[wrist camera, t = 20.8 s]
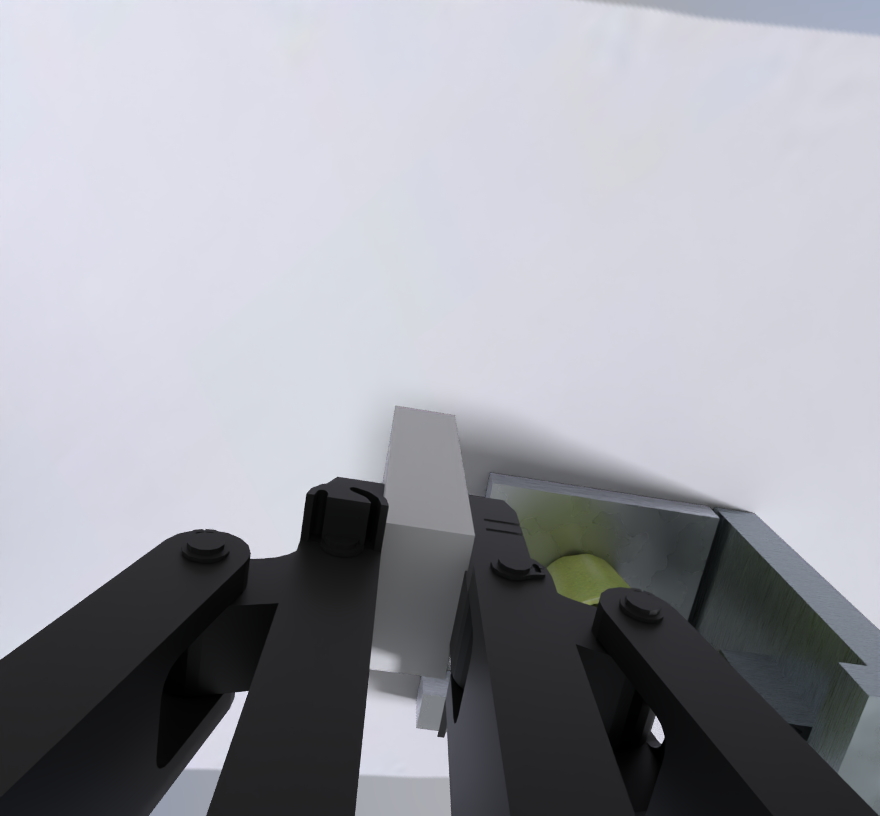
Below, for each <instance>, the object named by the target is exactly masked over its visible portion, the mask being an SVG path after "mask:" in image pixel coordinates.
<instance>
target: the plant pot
mask: <svg viewBox="0 0 880 816" xmlns="http://www.w3.org/2000/svg"><path fill="white" fill-rule="evenodd" d="M547 570H548V571H549V573H550V574H551V576H552V578H553V581H554V584H555V587H556V590H557V592H558V593H559V594H561V595H563V596H565V597H568V598H570V599H573V600H575V601H578V602H582V603H585V604H588V605H591V606H594V607H597V606H598V602H599V599H600V595H601V593H602V592H604V591H605V590H607V589H609V588H617V587H624V588H631V587H630V586H629V585H628V584H627V583H626V582H625V581H624V580H623V578H622V577H621V576H620V575H619V574H618V573H617V572H616V570H615V569H614V568H613V567H612V566H611V565H610V564H609V563H608V562H606V561H605V560H603V559H601V558H600V557H597V556H594V555H591V554H580V555H573V556H564V557H561V558H559V559H557V560H555V561H554V562H552V563H551V564H550V565H549V566H548V567H547Z"/></svg>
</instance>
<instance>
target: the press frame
mask: <svg viewBox="0 0 880 816" xmlns="http://www.w3.org/2000/svg"><path fill="white" fill-rule="evenodd" d="M485 497H486V498H492V499H499V500H504V501H505V502H506V503H507V504H508V505H509V506H510V507H511V508H512V509H513V510H515V511H516V513H517V516H518V519H519V523H520V526H521V529H522V532H523V536H524V539H525V542H526V545H527V548H528V551H529V555H530V558H531V559H534V560H536V561H537V562H539V563H540V564H542V565H543V566H544V567H546V568H547V567H548V566H549V565H550V564H551V563H552V562H554V561H555V560H557V559H559V558H561V557H564V556H573V555H580V554H591V555H594V556H597V557H600V558H601V559H603V560H605V561H606V562H608V563H609V564H610V565H611V566H612V567H613V568H614V569H615V570H616V572H617V573H618V574H619V575H620V576H621V577H622V578H623V580H624V581H625V582H626V583H627V584H628V585H629V586H630V587H631V588H637V589H641V590H642V591H644V590H645V591H647V592H650V593H652V594H654V596H656V597H658V598H660V599H662V600H664V601H666V602H667V603H668V604H670V605H671V606H672V607H673V608H675V609H676V610H677V611H678V612H679V613H680V614H681V615H682V616H683V617H684V618H685V619H686V620H687V621H688V622H689V623H690V624H691V625H692V626H693V627H694V628H695V629H696V630H697V631H698V632H699V633H700V634H701V635H702V636H703V637H704V638H705V639H706V640H707V641H708V642H709V643H710V644H711V646H712V647H713V648H714V649H715V650H716V651H717V652H718V653H719V654H720V655H721V656H722V657H723V658H724V659H725V660H726V661H727V662H728V663H729V664H730V665H731V666H732V667H733V668H734V669H735V670H736V671H737V672H738V673H739V674H740V675H741V676H742V677H743V678H744V679H745V680H746V681H747V682H748V683H749V684H750V685H751V686H752V687H753V688H754V689H755V690H756V691H757V692H758V693H759V694H760V695H761V696H762V697H763V698H764V699H765V700H766V701H767V702H768V703H769V704H770V705H771V706H772V707H773V708H774V709H775V710H776V712H777V713H778V714H779V715H780V716H781V717H782V718H783V719H784V720H785V721H786V722H787V723H788V724H789V725H790V726H791V727H792V728H793V729H794V730H795V731H796V732H797V733H798V734H799V735H800V736H801V737H802V738H803V739H804V740H805V741H806V742H807V743H808V744H809V745H810V746H811V747H812V748H813V749H814V750H815V751H816V752H817V753H818V754H819V755H820V756H821V757H822V758H823V759H824V760H825V761H826V762H827V763H828V764H829V765H830V766H831V767H832V768H833V769H834V770H835V771H836V772H837V773H838V774H839V775H840V776H841V778H842V779H843V780H844V781H845V782H846V783H847V784H848V785H849V786H850V787H851V788H852V789H853V790H854V791H855V792H856V793H857V794H858V795H859V796H860V797H861V798H862V799H863V800H864V801H865V802H866V803H867V804H868V805H869V806H870V807H871V808H872V809H873V810H874V811H875V812H876V813H877V814H878V815H879V816H880V630H879V629H878V628H877V627H876V626H875V625H874V624H872V623H871V622H870V621H869V620H868V619H867V618H866V617H865V616H864V615H863V614H862V613H861V612H860V611H859V610H857V609H856V608H855V607H854V606H853V605H852V604H851V603H850V602H849V601H848V600H847V599H846V598H845V597H844V596H842V595H841V594H840V593H839V592H838V591H837V590H836V589H835V588H834V587H833V586H832V585H831V584H830V583H829V582H828V581H826V580H825V579H824V578H823V577H822V576H821V575H820V574H819V573H818V572H817V571H816V570H815V569H814V568H813V567H811V566H810V565H809V564H808V563H807V562H806V561H805V560H804V559H803V558H802V557H801V556H800V555H799V554H798V553H796V552H795V551H794V550H793V549H792V548H791V547H790V546H789V545H788V544H787V543H786V542H785V541H784V540H783V539H781V538H780V537H779V536H778V535H777V534H776V533H775V532H774V531H773V530H772V529H771V528H770V527H769V526H768V525H767V524H765V523H764V522H763V521H762V520H761V519H760V518H759V517H758V516H757V515H756V514H755V513H749V512H743V511H736V510H730V509H723V508H717V507H715V509H714V512H713V511H712V510H711V509H710V507H709V506H704V505H697V504H691V503H684V502H678V501H672V500H665V499H659V498H652V497H646V496H639V495H633V494H626V493H620V492H613V491H607V490H600V489H594V488H588V487H581V486H575V485H568V484H562V483H555V482H549V481H542V480H536V479H529V478H523V477H517V476H510V475H504V474H497V473H491V472H490V476H489V481H488V486H487V491H486V495H485ZM450 675H451V671H447V672H446V677H445V679H441V678H433V677H425V676H421V680H420V685H419V690H418V695H417V700H416V728H420V729H428V730H436V731H439V727H440V722H441V717H442V713H443V708H444V703H445V698H446V694H447V689H448V684H449V679H450ZM446 732H447V729H446Z"/></svg>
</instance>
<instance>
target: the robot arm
mask: <svg viewBox="0 0 880 816" xmlns="http://www.w3.org/2000/svg"><path fill="white" fill-rule="evenodd" d="M250 554H251V553H250V549H249V546H248V545H247V544H246V543H245V542H244V541H243V540H242V539H241V538H239V537H236V536H234V535H231V534H229V533H225V532H219V531H216V530H210V529H206V530H203V529H199V530H193V531H189V532H184V533H180V534H177V535H175V536H173V537H170V538H168V539H166V540H165V541H163V542H162V543H161V544H159V545H158V546H157V547H155V548H154V549H152V550H151V551H150V552H148V553H147V554H146V555H144V556H143V557H141V558H140V559H139V560H137V561H136V562H135V563H133V564H132V565H130V566H129V567H128V568H126V569H125V570H124V571H122V572H121V573H119V574H118V575H117V576H115V577H114V578H112V579H111V580H110V581H108V582H107V583H106V584H104V585H103V586H101V587H100V588H99V589H97V590H96V591H95V592H93V593H92V594H90V595H89V596H88V597H86V598H85V599H84V600H82V601H81V602H79V603H78V604H77V605H75V606H74V607H73V608H71V609H70V610H68V611H67V612H66V613H64V614H63V615H62V616H60V617H59V618H57V619H56V620H55V621H53V622H52V623H51V624H49V625H48V626H46V627H45V628H44V629H42V630H41V631H40V632H38V633H37V634H35V635H34V636H33V637H31V638H30V639H29V640H27V641H26V642H24V643H23V644H22V645H20V646H19V647H18V648H16V649H15V650H13V651H12V652H11V653H9V654H8V655H7V656H5V657H4V658H2V659H1V660H0V816H149V815H150V813H151V812H152V811H153V809H154V808H155V807H156V805H157V804H158V803H159V801H160V800H161V799H162V797H163V796H164V795H165V794H166V792H167V791H168V790H169V788H170V787H171V785H172V784H173V783H174V781H175V780H176V779H177V778H178V776H179V775H180V774H181V772H182V771H183V770H184V768H185V767H186V766H187V764H188V763H189V762H190V760H191V759H192V758H193V756H194V755H195V754H196V753H197V751H198V750H199V749H200V747H201V746H202V745H203V743H204V742H205V741H206V739H207V738H208V737H209V735H210V734H211V733H212V731H213V730H214V729H215V727H216V726H217V725H218V723H219V722H220V721H221V719H222V718H223V717H224V715H225V714H226V713H227V712H228V710H229V709H230V707H231V704H232V702H233V700H234V697H235V692H242V691H249V692H248V695H247V698H246V701H245V704H244V707H243V710H242V712H241V715H240V718H239V721H238V724H237V727H236V730H235V733H234V736H233V739H232V742H231V745H230V748H229V751H228V754H227V756H226V759H225V762H224V765H223V768H222V771H221V774H220V777H219V780H218V783H217V786H216V789H215V792H214V795H213V798H212V800H211V803H210V806H209V809H208V812H207V815H206V816H355V808H356V798H357V788H358V778H359V768H360V758H361V748H362V739H363V729H364V719H365V709H366V699H367V689H368V679H369V669H372V670H380V671H387V672H395V673H402V674H410V675H418V676H425V677H433V678H441V679H445V677H446V672H447V667H448V662H449V658H450V659H451V675H450V679H449V684H448V689H447V694H446V698H445V703H444V708H443V713H442V717H441V722H440V727H439V732H438V736H437V737H444V736H445V733H446V729H447V737H448V757H449V777H450V795H451V816H879V815H878V814H877V813H876V812H875V811H874V810H873V809H872V808H871V807H870V806H869V805H868V804H867V803H866V802H865V801H864V800H863V799H862V798H861V797H860V796H859V795H858V794H857V793H856V792H855V791H854V790H853V789H852V788H851V787H850V786H849V785H848V784H847V783H846V782H845V781H844V780H843V779H842V778H841V776H840V775H839V774H838V773H837V772H836V771H835V770H834V769H833V768H832V767H831V766H830V765H829V764H828V763H827V762H826V761H825V760H824V759H823V758H822V757H821V756H820V755H819V754H818V753H817V752H816V751H815V750H814V749H813V748H812V747H811V746H810V745H809V744H808V743H807V742H806V741H805V740H804V739H803V738H802V737H801V736H800V735H799V734H798V733H797V732H796V731H795V730H794V729H793V728H792V727H791V726H790V725H789V724H788V723H787V722H786V721H785V720H784V719H783V718H782V717H781V716H780V715H779V714H778V713H777V712H776V710H775V709H774V708H773V707H772V706H771V705H770V704H769V703H768V702H767V701H766V700H765V699H764V698H763V697H762V696H761V695H760V694H759V693H758V692H757V691H756V690H755V689H754V688H753V687H752V686H751V685H750V684H749V683H748V682H747V681H746V680H745V679H744V678H743V677H742V676H741V675H740V674H739V673H738V672H737V671H736V670H735V669H734V668H733V667H732V666H731V665H730V664H729V663H728V662H727V661H726V660H725V659H724V658H723V657H722V656H721V655H720V654H719V653H718V652H717V651H716V650H715V649H714V648H713V647H712V646H711V644H710V643H709V642H708V641H707V640H706V639H705V638H704V637H703V636H702V635H701V634H700V633H699V632H698V631H697V630H696V629H695V628H694V627H693V626H692V625H691V624H690V623H689V622H688V621H687V620H686V619H685V618H684V617H683V616H682V615H681V614H680V613H679V612H678V611H677V610H676V609H675V608H673V607H672V606H671V605H670V604H668V603H667V602H666V601H664V600H662V599H660V598H658V597H656V596H654V594H652V593H650V592H647V591H645V590H644V591H642V590H641V589H637V588H624V587H617V588H609V589H607V590H605V591H604V592H602V593H601V595H600V599H599V602H598V606H597V607H594V606H591V605H588V604H585V603H582V602H578V601H575V600H573V599H570V598H568V597H565V596H563V595H561V594H559V593H558V592H557V590H556V587H555V584H554V581H553V578H552V576H551V574H550V573H549V571H548V570H547V568H546V567H544V566H543V565H542V564H540V563H539V562H537V561H536V560H534V559H531V558H530V555H529V551H528V548H527V545H526V542H525V539H524V536H523V532H522V529H521V526H520V523H519V519H518V516H517V513H516V511H515V510H513V509H512V508H511V507H510V506H509V505H508V504H507V503H506V502H505V501H504V500H499V499H492V498H486V497H479V496H473V495H468V491H467V485H466V479H465V473H464V467H463V461H462V455H461V449H460V443H459V437H458V431H457V425H456V419H455V415H450V414H444V413H438V412H431V411H425V410H419V409H413V408H406V407H400V406H395V411H394V417H393V423H392V429H391V435H390V441H389V447H388V453H387V459H386V465H385V471H384V477H383V484H381V483H375V482H368V481H362V480H355V479H348V478H342V477H337V478H335V479H333V480H332V481H330V482H329V483H327V484H321V485H318V486H316V487H313V488H311V489H310V490H309V491H308V493H307V494H306V501H305V508H304V516H303V523H302V531H301V538H300V542H299V545H298V548H297V551H295V552H293V553H290V554H288V555H284V556H280V557H276V558H265V559H250ZM655 716H657V718H658V720H659V722H660V723H661V725H662V729H663V732H664V736H665V738H664V741H663V743H662V744H660V743H659V742H658V740H657V739H656V738H655V736H654V735H653V734H652V732H651V729H652V725H653V722H654V719H655Z"/></svg>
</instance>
